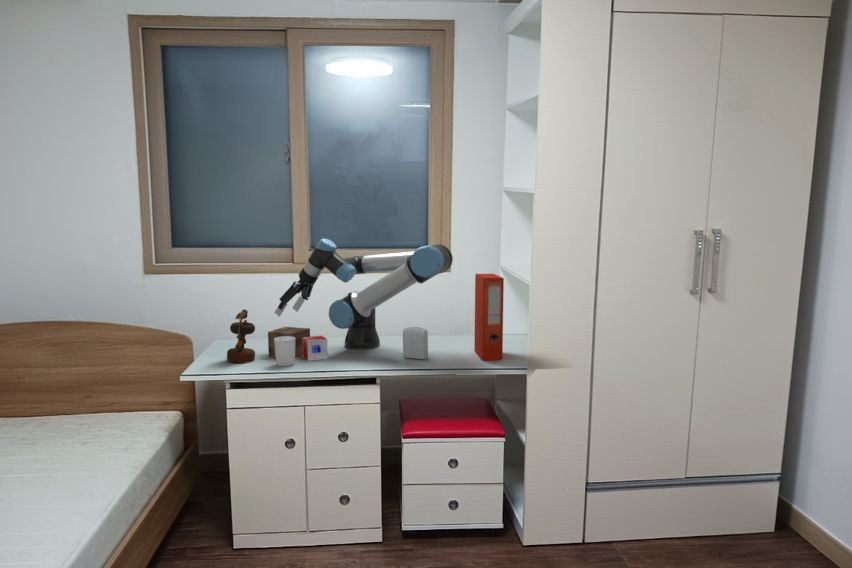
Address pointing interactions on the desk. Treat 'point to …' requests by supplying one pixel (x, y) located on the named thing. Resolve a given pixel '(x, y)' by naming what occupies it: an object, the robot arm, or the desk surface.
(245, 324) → the brown tall carved piece
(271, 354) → the walnut pedestal
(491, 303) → the file binder
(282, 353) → the white cup
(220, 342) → the desk surface
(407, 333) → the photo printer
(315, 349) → the red white patterned cube
